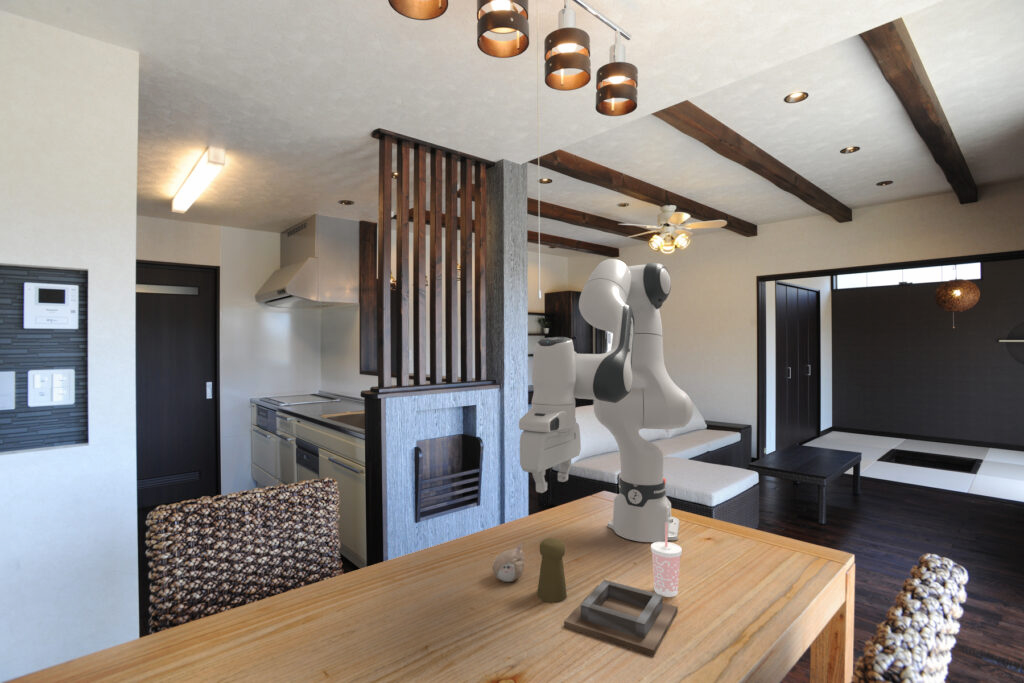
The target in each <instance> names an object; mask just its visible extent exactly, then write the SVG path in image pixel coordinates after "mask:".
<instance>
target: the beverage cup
mask: <svg viewBox="0 0 1024 683" xmlns="http://www.w3.org/2000/svg"><path fill="white" fill-rule="evenodd" d="M650 551H651V552H652V553H651V554H652V572H653V590H654V593H656V594H660V595H663V597H666V598H671V597H675V596H677V595H678V594H679V593H678V592H679V581H680V580H679V579H680V578H679V577H680V568H681V567H680V566H681V562H680V561H681V556H682V554H683V553H682V551H683V549H682V546H680V545H678V544H677V543H674V542H669V540H668V523H667V522H665V541H659V542H651V545H650Z"/></svg>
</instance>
